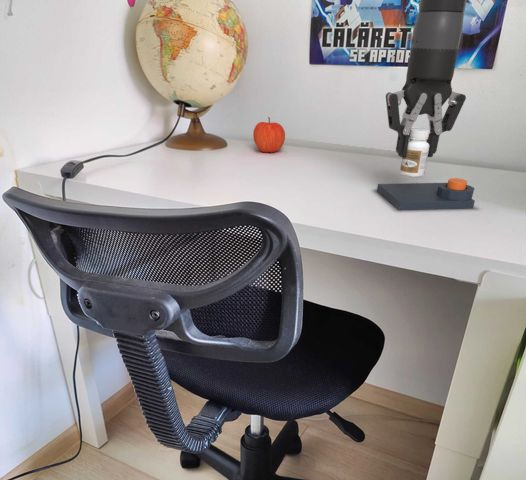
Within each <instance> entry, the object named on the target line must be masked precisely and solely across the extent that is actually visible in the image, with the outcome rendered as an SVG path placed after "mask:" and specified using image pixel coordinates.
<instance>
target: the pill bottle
mask: <svg viewBox="0 0 526 480" xmlns="http://www.w3.org/2000/svg"><path fill="white" fill-rule="evenodd" d="M429 133H430V129H428V128H423V127H412V128H411V130H410V132H409V134H408V135H409V142H408V148H407V154H406V157H401V162H400V169H399V174H401V175H402V176H404V177H408V178H421V177H423V176H424V175H425V173H426V168H427V162H428V158H429V157H428V152H429V144H428V143H427V142H426V141H427V139H428V137H429Z"/></svg>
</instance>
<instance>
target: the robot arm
mask: <svg viewBox="0 0 526 480" xmlns="http://www.w3.org/2000/svg"><path fill="white" fill-rule="evenodd" d="M467 1H468V0H419V5H418V9H417V10H418V12H417V15H416V19H415V22H414V26H413V32H412V37H411V39H410V40H411V41H410V50H409V58H408V63H407V70H406V79H405V83H404V85H403V87H402V89H401V90H397V91H395V92H389V91H388V92H387V93H386V94H385V103H386V113H387V121H388V128H389V129H390V130H393V131H394V132H396V133H397V140H396V146H395V152H396V153H397V156H398V157H400V158H402V157H406V154H407V148H408V142H409V132H410V130H411V128H413V125H414V124H415V122H416V121H417V119H418V117H419V116H423V115H427V120H428V126H429V130H430V131H429V137H428V139H427V141H426V142H427V143H428V144H429V152H428V157H427V158H433V156H434V154H436V152H437V150H438V145H439V141H440V136H441V134H443V133H445V132H450V131H452V129H453V128H454V125H455V123H456V121H457V119H458V116H459V114H460V112H461V110H462V108H463V106H464V103H465V102H466V99H467V96H466V94H464V93H460V92H455V91H453V88H452V80H453V77H454V74H455V69H456V64H457V59H458V54H459V49H460V44H461V40H462V35H463V28H464V18H465V12H466V7H467V6H466V5H467ZM402 100H403V101H404V102H405V105H406V106H405V109H404V110H403V113H402V116H401V117H402V118H401V117H400V107H399V106H400V105H402ZM446 102H447V104H448V106H447V108H446V110H445V113H444V115H443V105H445V103H446Z"/></svg>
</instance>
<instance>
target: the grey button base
mask: <svg viewBox="0 0 526 480" xmlns="http://www.w3.org/2000/svg"><path fill="white" fill-rule="evenodd" d="M447 184H448V182H411V183H402V182H401V183H377V187H376V192H378V194H380V196H382V197H383V198H384V199H386V201H388V202H389V203H390V204H391V205H392V206H393V207H395V208H396V209H397V210H398V211H410V210H411V211H414V210H415V211H416V210H418V211H419V210H450V209H453V210H456V209H457V210H458V209H473V208H474V206H475V202H476V200H475V199H473V195H474V192H475V187H474V186H472V185H469V184H466V189H465V190H454V189H449V188H447Z"/></svg>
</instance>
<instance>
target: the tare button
mask: <svg viewBox="0 0 526 480" xmlns="http://www.w3.org/2000/svg"><path fill="white" fill-rule="evenodd" d="M447 183H448V184H447V188H449V189H454V190H465V189H466V185H468V180H467V179H464V178H459V177H451V178H448V180H447Z"/></svg>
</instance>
